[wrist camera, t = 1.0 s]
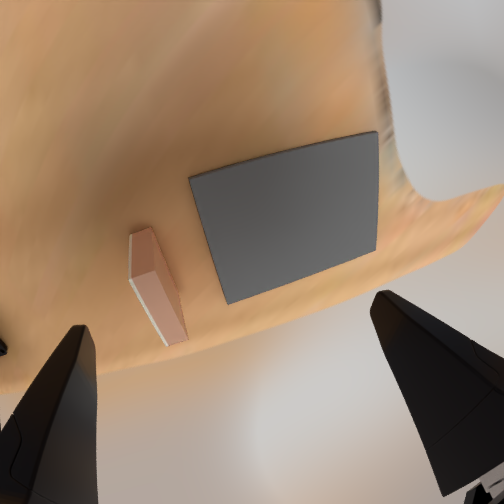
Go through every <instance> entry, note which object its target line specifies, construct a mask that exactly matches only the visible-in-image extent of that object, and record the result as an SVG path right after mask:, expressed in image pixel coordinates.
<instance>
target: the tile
mask: <svg viewBox="0 0 504 504" xmlns="http://www.w3.org/2000/svg"><path fill="white" fill-rule="evenodd" d="M128 280H129V282H130V284H131V286H132V288H133V290H134V291H135V293H136V295H137V297H138V299H139V301H140V303H141V304H142V306H143V308H144V310H145V311H146V313H147V315H148V317H149V319H150V320H151V322H152V324H153V325H154V327H155V329H156V331H157V332H158V334H159V336H160V337H161V339H162V341H163V342H164V344H165V346H166V347H167V346H170V345H173V344H176V343H180V342H183V341H186V340H189V339H188V335H187V330H186V326H185V321H184V316H183V311H182V307H181V302H180V297H179V292H178V290H177V287H176V285H175V283H174V281H173V278H172V276H171V274H170V271H169V269H168V266H167V264H166V262H165V259H164V257H163V255H162V252H161V250H160V247H159V245H158V242H157V240H156V237H155V235H154V232H153V230H152V227H150V228H147V229H144V230H141V231H139V232H136V233H133V234H130V235H129V261H128Z"/></svg>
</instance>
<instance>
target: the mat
mask: <svg viewBox="0 0 504 504" xmlns="http://www.w3.org/2000/svg"><path fill="white" fill-rule="evenodd" d="M189 182H190V185H191V189H192V192H193V195H194V199H195V202H196V205H197V209H198V212H199V215H200V219H201V222H202V225H203V229H204V232H205V235H206V238H207V242H208V245H209V248H210V251H211V254H212V258H213V261H214V264H215V267H216V270H217V273H218V276H219V280H220V283H221V286H222V289H223V292H224V295H225V298H226V301H227V304H228V305H229V304H232V303H235V302H237V301H240V300H243V299H246V298H249V297H252V296H255V295H258V294H260V293H263V292H266V291H269V290H272V289H274V288H277V287H280V286H283V285H285V284H288V283H291V282H294V281H296V280H299V279H302V278H305V277H307V276H310V275H313V274H315V273H318V272H321V271H323V270H326V269H329V268H331V267H334V266H337V265H339V264H342V263H344V262H347V261H350V260H352V259H355V258H357V257H360V256H363V255H365V254H368V253H370V252H373V251H375V250H376V240H377V222H378V192H379V146H378V132H376V131H372V132H366V133H361V134H356V135H351V136H346V137H342V138H337V139H332V140H328V141H323V142H319V143H314V144H310V145H306V146H301V147H297V148H293V149H289V150H285V151H281V152H277V153H273V154H269V155H265V156H262V157H258V158H254V159H251V160H247V161H243V162H240V163H236V164H233V165H229V166H226V167H222V168H219V169H216V170H212V171H209V172H206V173H202V174H199V175H196V176H193V177H190V178H189Z"/></svg>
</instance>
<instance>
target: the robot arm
mask: <svg viewBox="0 0 504 504" xmlns="http://www.w3.org/2000/svg"><path fill="white" fill-rule="evenodd" d="M370 316H371V319H372V322H373V324H374V327H375V330H376V333H377V335H378V338H379V341H380V344H381V347H382V350H383V352H384V354H385V357H386V359H387V361H388V363H389V366H390V368H391V370H392V372H393V374H394V377H395V379H396V381H397V383H398V386H399V388H400V390H401V392H402V395H403V397H404V399H405V402H406V404H407V406H408V409H409V411H410V413H411V416H412V418H413V421H414V423H415V425H416V428H417V430H418V433H419V435H420V438H421V440H422V442H423V445H424V448H425V450H426V453H427V456H428V459H429V461H430V464H431V467H432V469H433V472H434V475H435V477H436V480H437V483H438V485H439V488H440V491H441V494H442V496H443V497H445V496H447V495H449V494H451V493H453V492H455V491H457V490H458V489H460V488H462V487H464V486H466V485H467V484H469V483H471V482H473V481H474V480H476V479H478V478H479V480H480V482H479V483H478V484H477V485H476V486H474V487H473V488H472V489H470V490H469V491H468V492H467V493H466V497H465V501H464V504H504V358H502V357H500V356H498V355H497V354H495V353H493V352H491V351H489V350H487V349H486V348H484V347H483V346H481V345H479V344H478V343H476V342H475V341H473V340H470V338H468V337H467V336H465V335H463V334H462V333H460V332H459V331H457V330H455V329H454V328H452V327H450V326H449V325H447V324H445V323H444V322H442V321H441V320H439V319H437V318H435V317H434V316H432V315H431V314H429V313H427V312H426V311H424V310H422V309H421V308H419V307H417V306H416V305H414V304H412V303H411V302H409V301H407V300H405V299H404V298H402V297H400V296H399V295H397V294H395V293H394V292H392V291H390V290H383V291H379V292H377V294H376V296H375V298H374V301H373V303H372V306H371V308H370ZM7 351H8V348H7V347H6V346H5V345H4V343H3V342H2V341H1V340H0V356H3V355H6V354H7ZM13 414H14V415H13ZM13 414H12V415H11V416H10V418H9V420H8V421H7V423H6V424H5V426H4V428H3V429H2V431H1V425H0V504H98V491H97V470H96V421H97V420H96V419H97V382H96V351H95V344H94V341H93V339H92V337H91V334H90V332H89V329H88V327H87V326H86V325H73V326H72V327H71V328H70V330H69V331H68V332H67V334H66V335H65V336H64V338H63V339H62V341H61V342H60V343H59V345H58V346H57V347H56V349H55V350H54V352H53V353H52V354H51V356H50V357H49V359H48V360H47V362H46V363H45V364H44V366H43V367H42V369H41V370H40V372H39V373H38V375H37V376H36V378H35V379H34V381H33V382H32V384H31V385H30V387H29V388H28V390H27V391H26V393H25V395H24V396H23V397H22V399H21V400H20V402H19V404H18V405H17V407H16V408H15V410H14V412H13Z"/></svg>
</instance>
